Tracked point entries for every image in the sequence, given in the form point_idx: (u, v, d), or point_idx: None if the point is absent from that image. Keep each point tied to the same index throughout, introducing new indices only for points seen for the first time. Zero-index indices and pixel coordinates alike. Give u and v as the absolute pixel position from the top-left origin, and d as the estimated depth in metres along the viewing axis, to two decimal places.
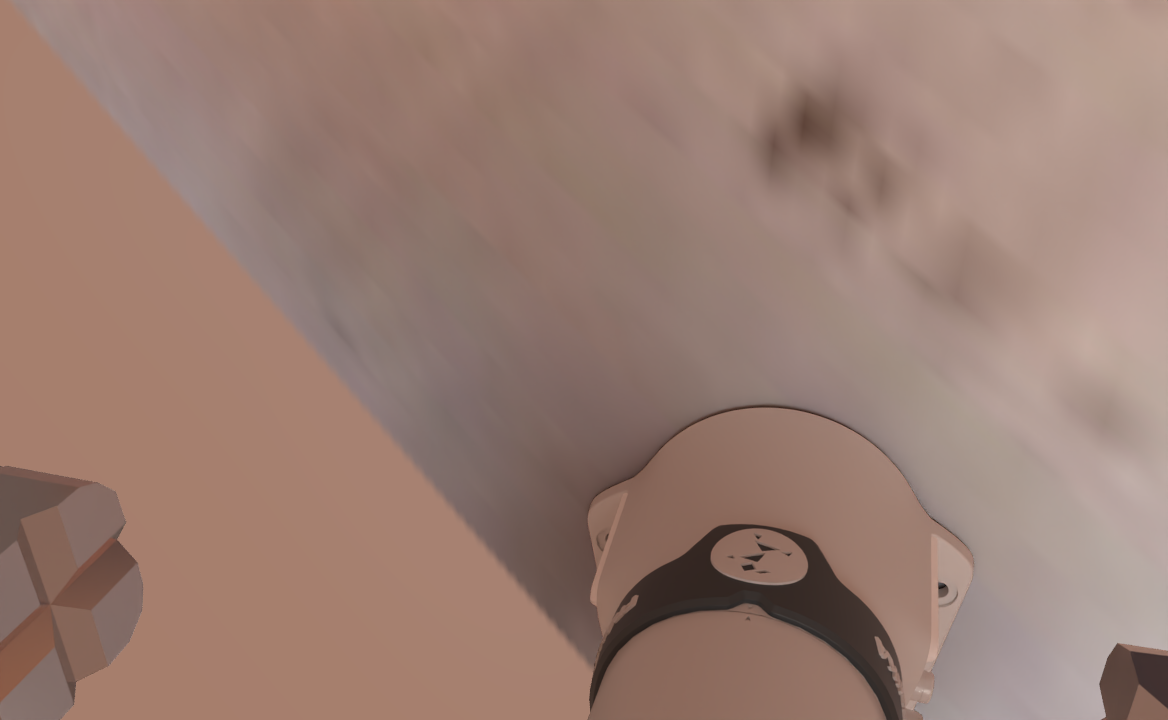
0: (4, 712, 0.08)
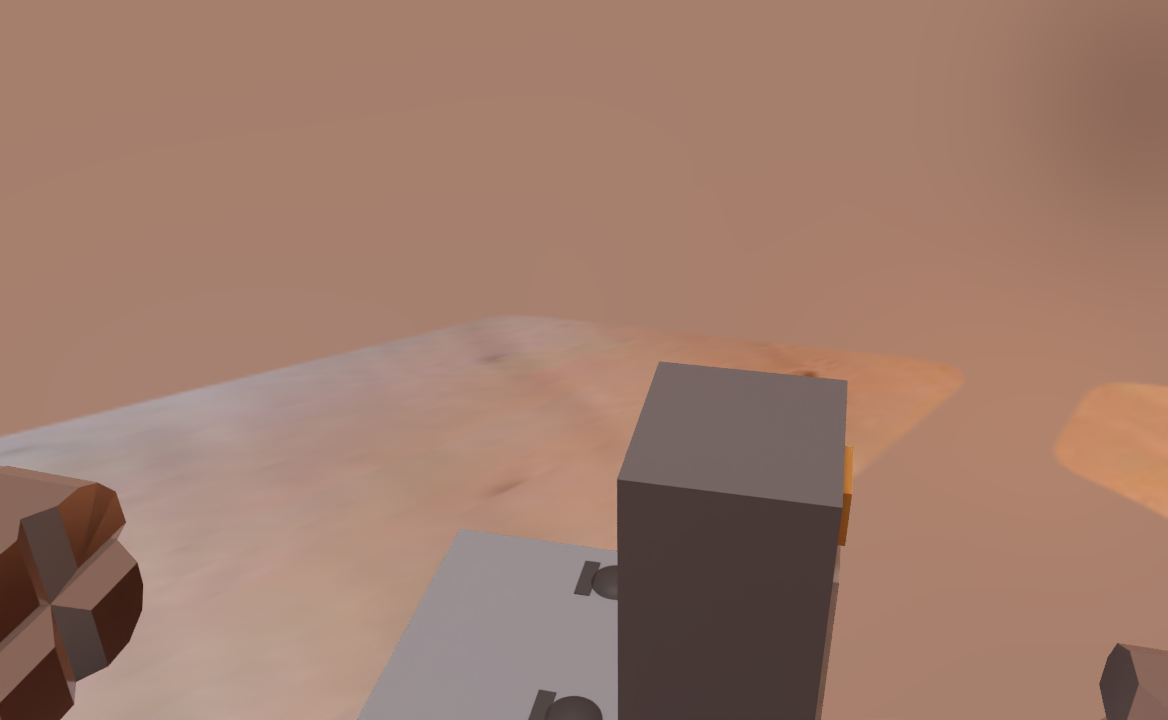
0: (4, 712, 0.08)
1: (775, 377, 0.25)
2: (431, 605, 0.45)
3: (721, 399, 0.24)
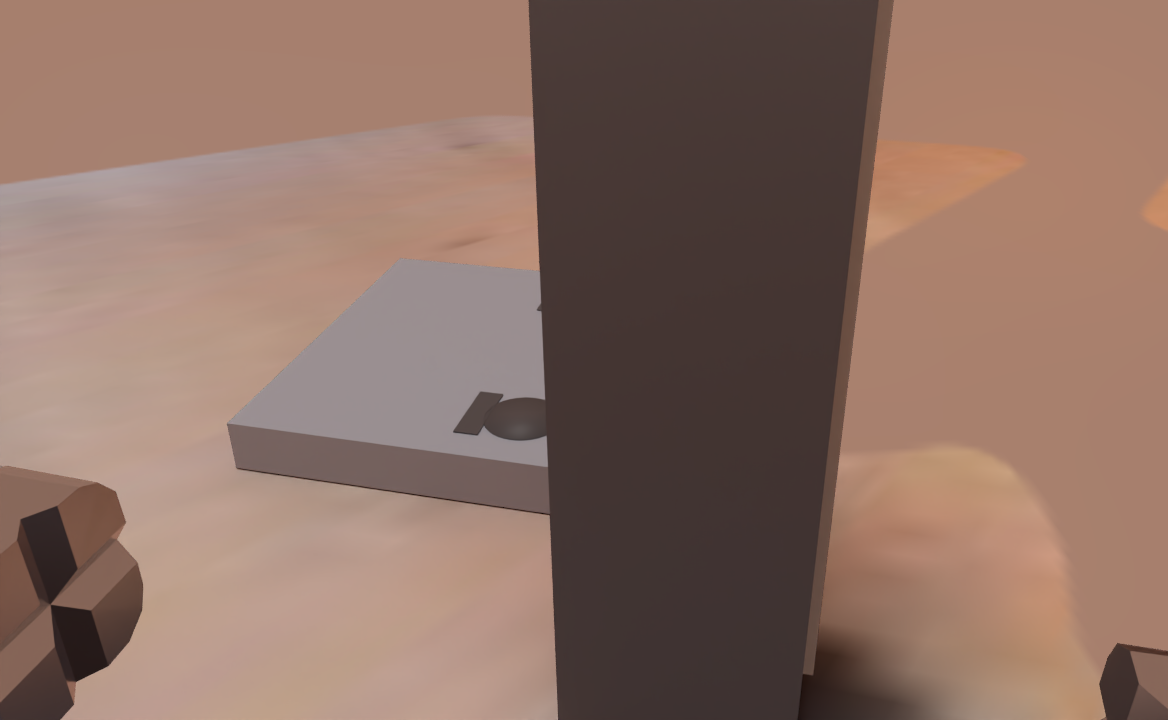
0: (4, 712, 0.08)
1: None
2: (352, 319, 0.35)
3: None
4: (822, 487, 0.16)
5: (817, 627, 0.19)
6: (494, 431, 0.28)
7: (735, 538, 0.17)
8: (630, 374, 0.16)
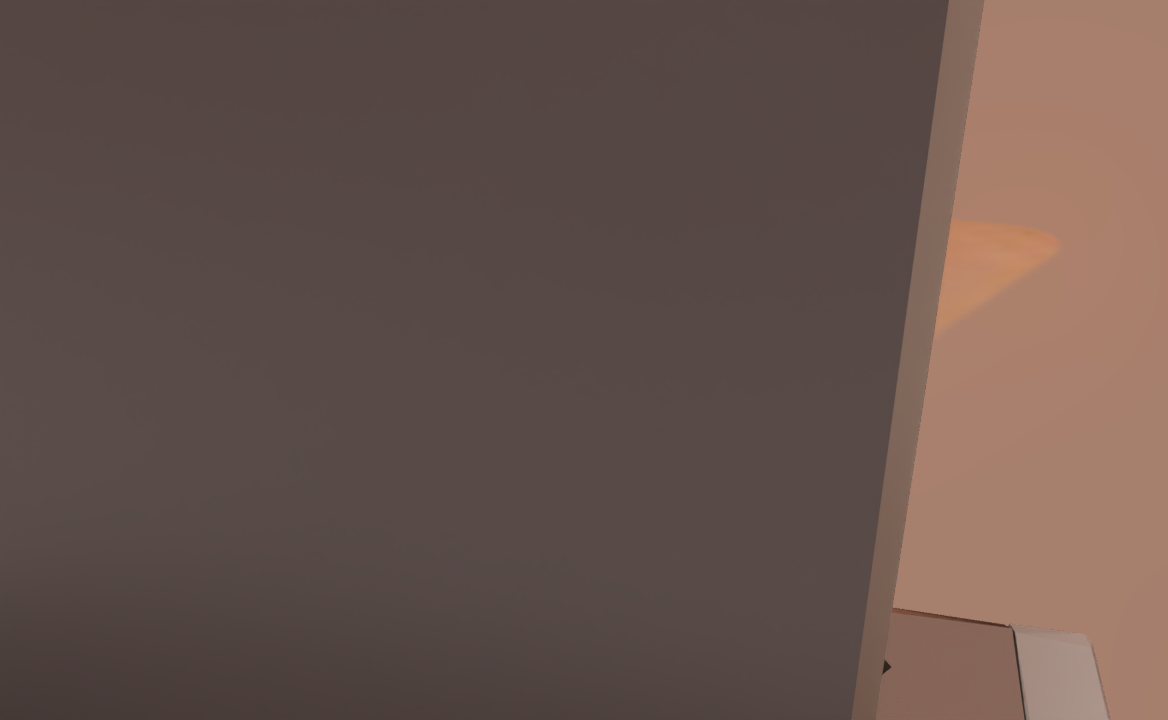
0: None
1: None
2: None
3: None
4: None
5: None
6: None
7: None
8: None
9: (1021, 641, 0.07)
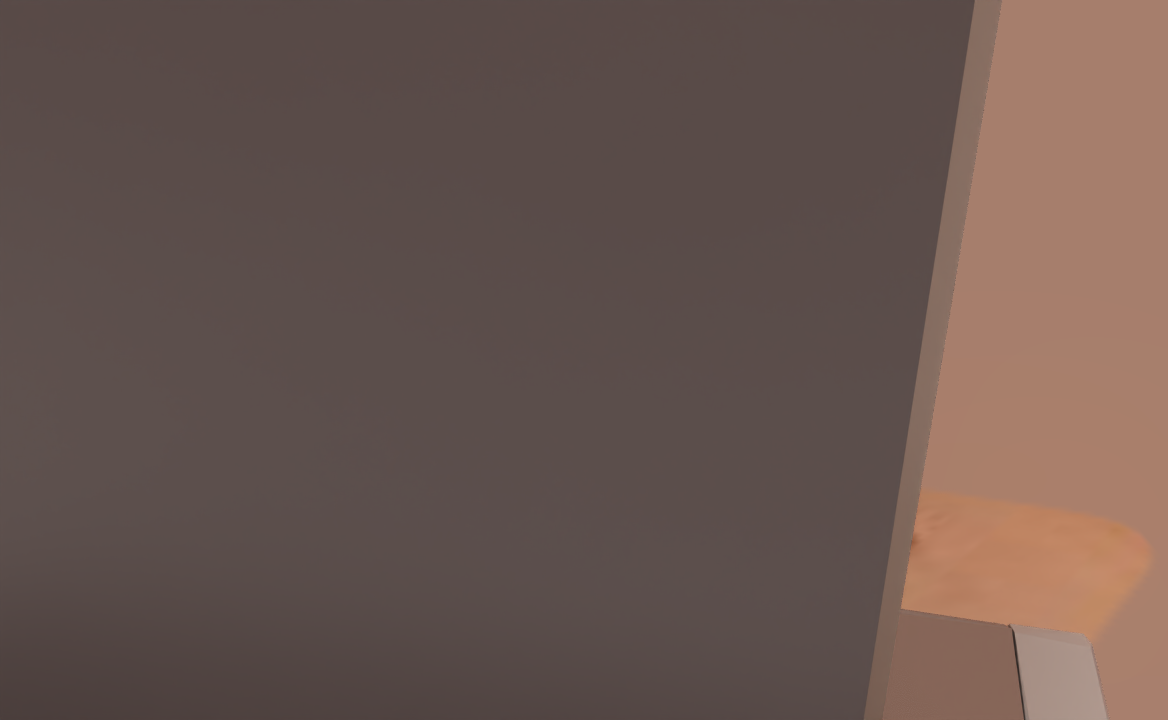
0: None
1: None
2: None
3: None
4: None
5: None
6: None
7: None
8: None
9: (1020, 641, 0.07)
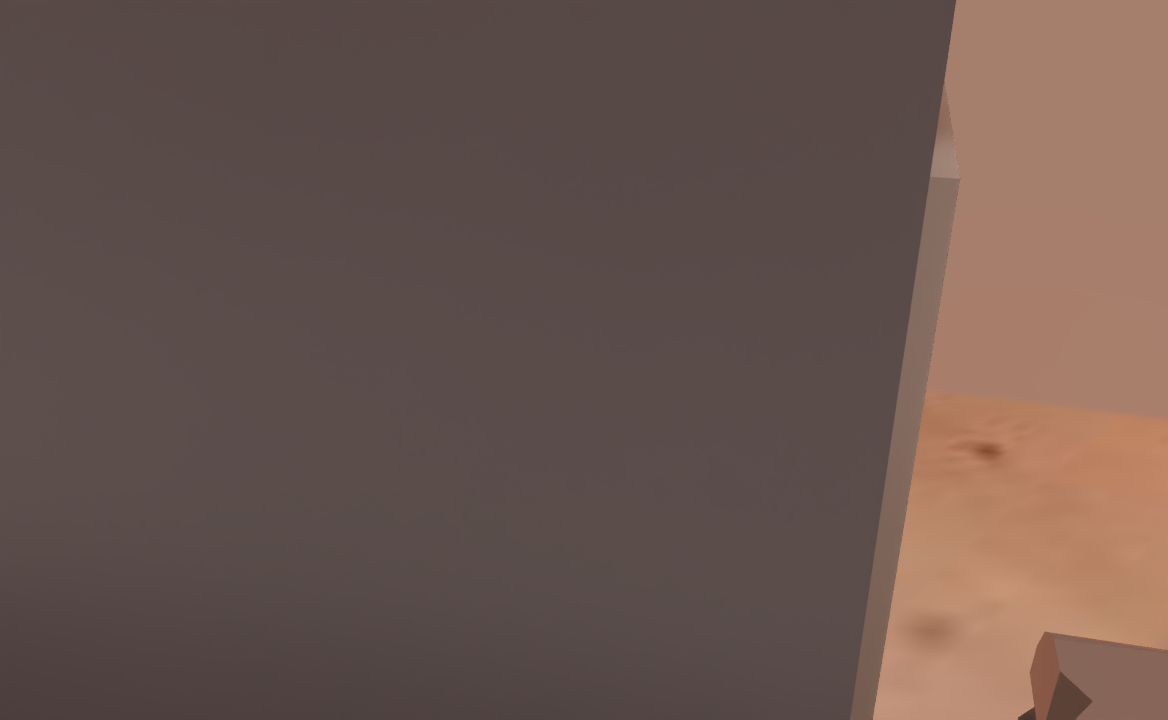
0: None
1: None
2: None
3: None
4: None
5: None
6: None
7: None
8: None
9: None
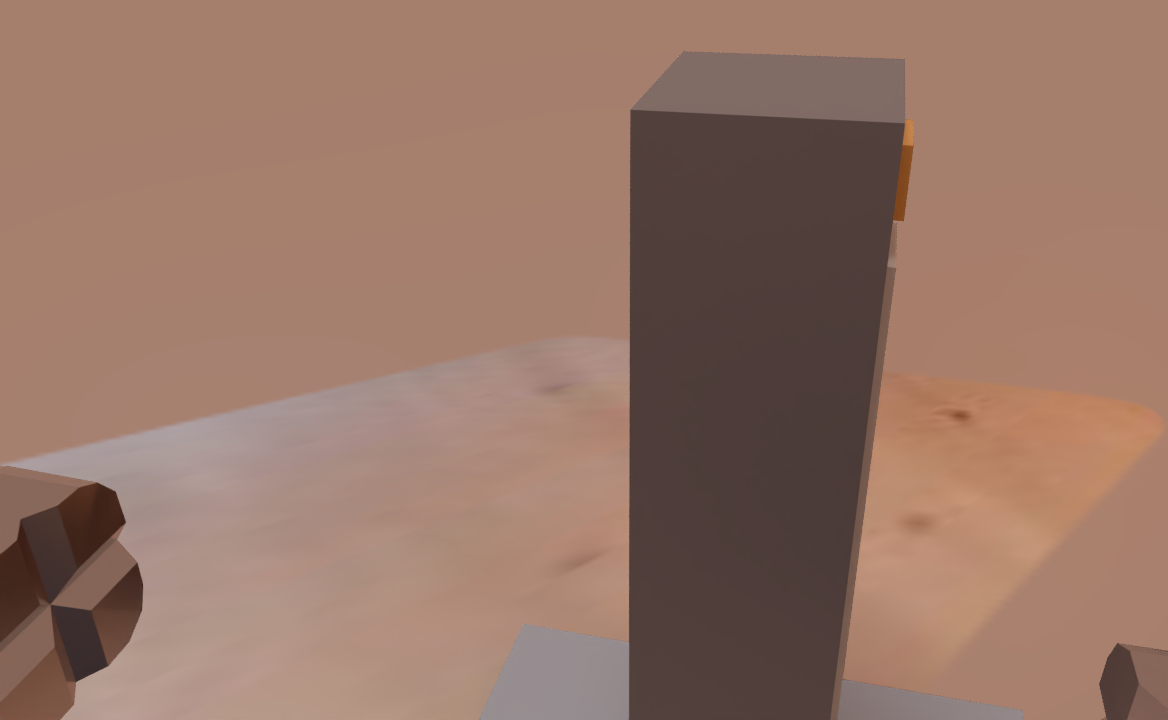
0: (4, 712, 0.08)
1: (819, 58, 0.21)
2: None
3: (756, 69, 0.20)
4: (830, 707, 0.23)
5: None
6: None
7: None
8: (693, 626, 0.23)
9: None
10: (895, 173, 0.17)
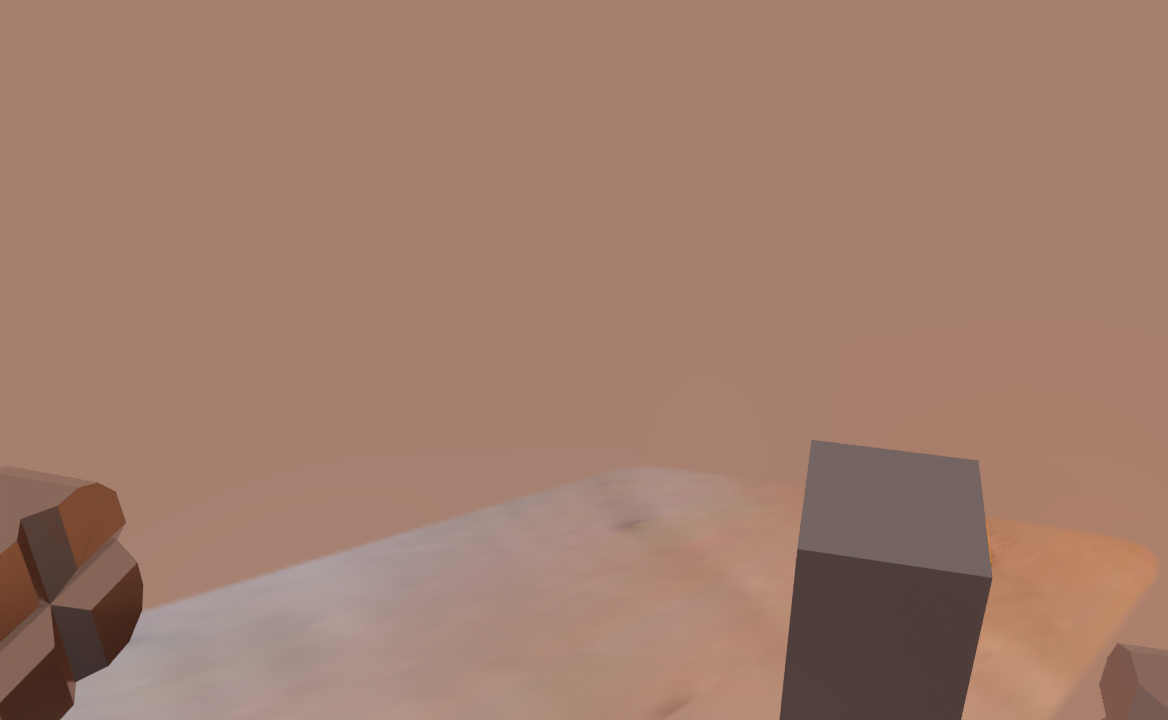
0: (4, 712, 0.08)
1: (915, 456, 0.29)
2: None
3: (872, 476, 0.28)
4: None
5: None
6: None
7: None
8: None
9: None
10: (983, 604, 0.25)
